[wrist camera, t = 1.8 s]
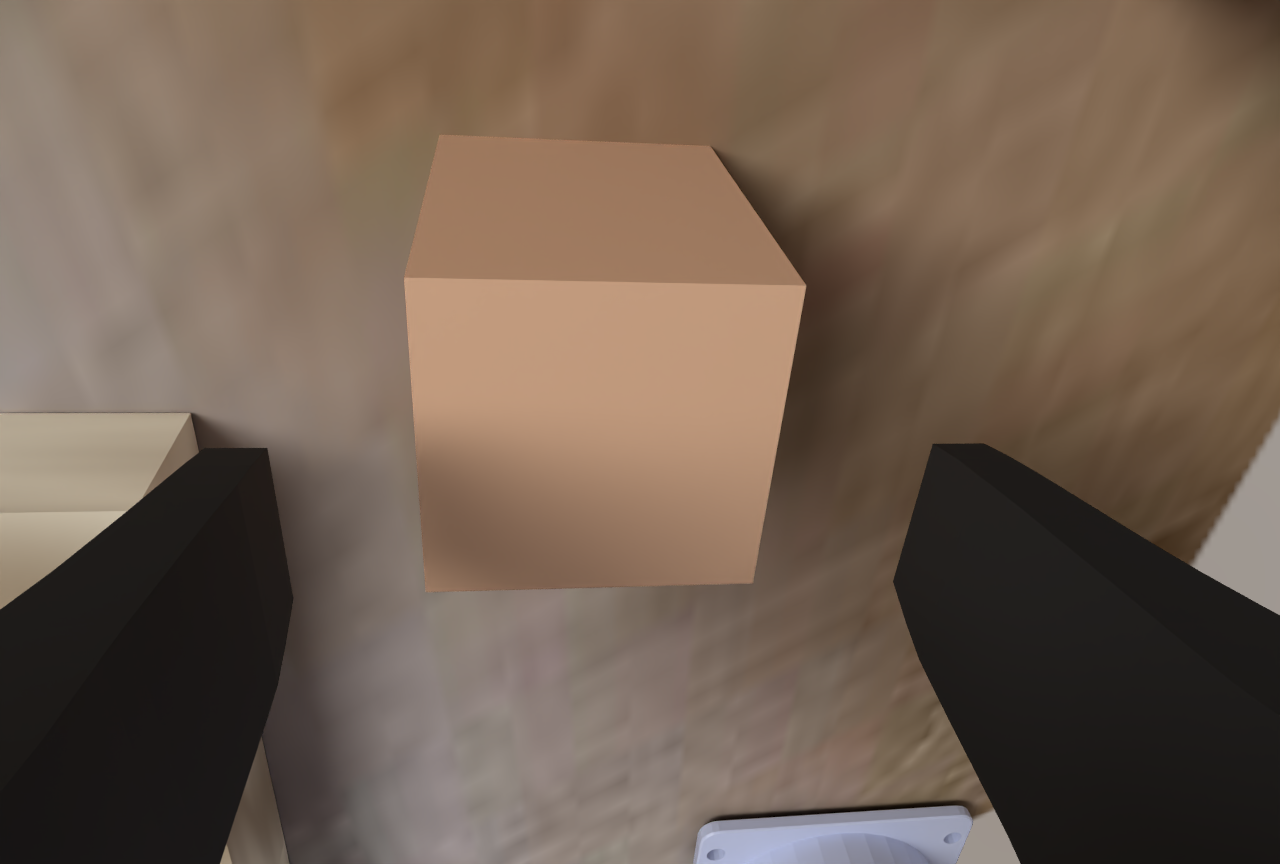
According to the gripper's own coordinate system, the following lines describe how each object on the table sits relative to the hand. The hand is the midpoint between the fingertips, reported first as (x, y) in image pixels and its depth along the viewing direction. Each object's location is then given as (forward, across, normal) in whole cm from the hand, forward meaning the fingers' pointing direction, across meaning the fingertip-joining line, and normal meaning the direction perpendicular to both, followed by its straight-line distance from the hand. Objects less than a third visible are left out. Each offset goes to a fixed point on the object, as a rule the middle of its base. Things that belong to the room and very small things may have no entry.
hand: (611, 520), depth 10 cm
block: (+8, 0, 0) cm, 8 cm away
